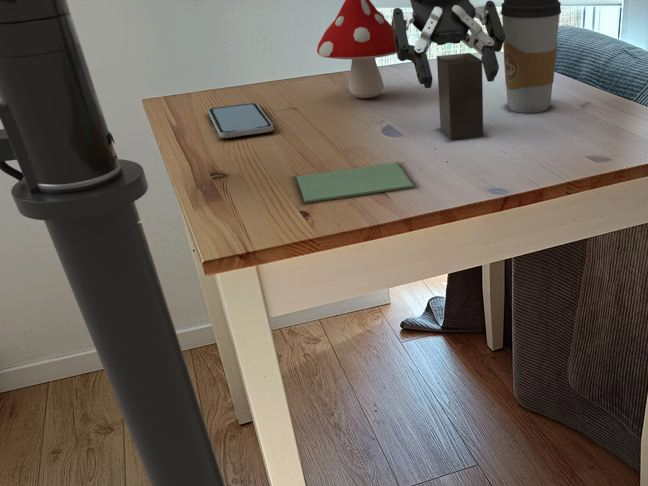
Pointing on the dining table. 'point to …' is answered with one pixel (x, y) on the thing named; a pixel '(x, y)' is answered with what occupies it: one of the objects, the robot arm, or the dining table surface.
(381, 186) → the mat
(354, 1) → the decorative mushroom
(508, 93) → the coffee cup
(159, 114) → the dining table surface
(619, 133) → the dining table surface
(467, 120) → the walnut block
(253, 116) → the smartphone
